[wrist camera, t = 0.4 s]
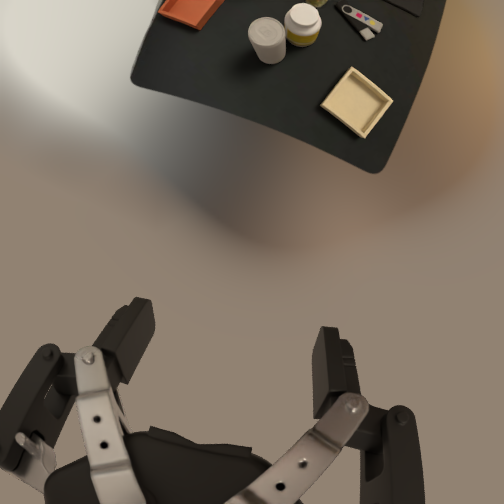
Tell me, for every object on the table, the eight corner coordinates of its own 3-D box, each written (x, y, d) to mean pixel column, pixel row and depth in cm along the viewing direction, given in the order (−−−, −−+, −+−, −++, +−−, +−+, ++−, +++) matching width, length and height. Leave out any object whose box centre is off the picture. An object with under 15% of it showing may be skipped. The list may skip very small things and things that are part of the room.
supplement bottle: (321, 44, 36) (329, 26, 27) (290, 50, 37) (291, 33, 28) (310, 18, 33) (315, -4, 25) (280, 24, 35) (278, 3, 26)
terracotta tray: (190, -17, 31) (185, -23, 29) (228, -4, 33) (224, -10, 30) (163, 16, 35) (157, 11, 32) (200, 30, 36) (195, 26, 34)
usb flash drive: (333, 5, 31) (334, 3, 30) (356, -4, 30) (357, -6, 29) (364, 41, 34) (366, 40, 33) (386, 31, 32) (388, 30, 31)
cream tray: (348, 69, 37) (351, 66, 34) (387, 101, 38) (393, 100, 36) (319, 105, 41) (321, 104, 38) (360, 137, 42) (364, 138, 40)
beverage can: (271, 70, 39) (266, 53, 28) (250, 52, 38) (239, 31, 27) (291, 52, 37) (293, 31, 26) (271, 35, 36) (265, 10, 25)
